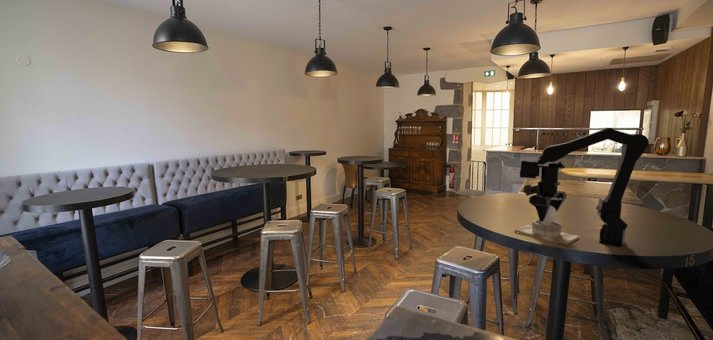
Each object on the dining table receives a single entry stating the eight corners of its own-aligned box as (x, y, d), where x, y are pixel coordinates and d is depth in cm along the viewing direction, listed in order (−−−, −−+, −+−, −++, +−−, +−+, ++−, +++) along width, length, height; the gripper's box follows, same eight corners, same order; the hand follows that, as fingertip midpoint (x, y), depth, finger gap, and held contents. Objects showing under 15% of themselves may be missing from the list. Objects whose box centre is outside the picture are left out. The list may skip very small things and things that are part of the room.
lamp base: (578, 238, 128) (579, 225, 127) (567, 244, 121) (568, 231, 120) (527, 227, 142) (528, 215, 142) (514, 232, 136) (515, 220, 135)
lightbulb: (547, 236, 128) (549, 207, 126) (533, 231, 133) (535, 204, 132) (558, 234, 130) (560, 205, 128) (544, 229, 135) (546, 202, 134)
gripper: (538, 174, 141) (536, 211, 143) (516, 179, 129) (514, 219, 131) (568, 177, 132) (565, 216, 134) (547, 182, 121) (544, 225, 123)
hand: (546, 219), depth 131 cm, fingers open, 9 cm apart
